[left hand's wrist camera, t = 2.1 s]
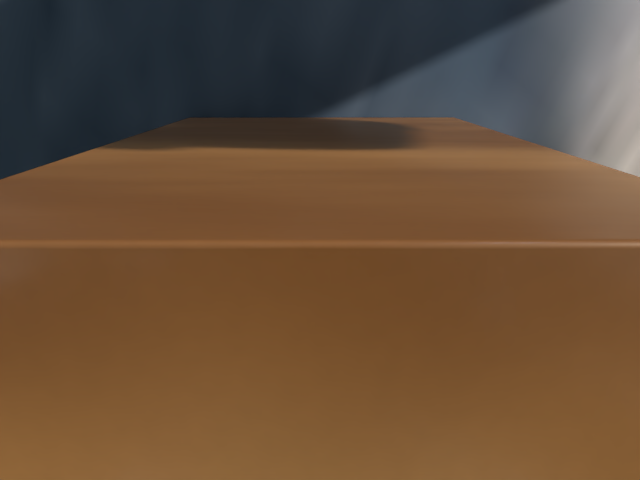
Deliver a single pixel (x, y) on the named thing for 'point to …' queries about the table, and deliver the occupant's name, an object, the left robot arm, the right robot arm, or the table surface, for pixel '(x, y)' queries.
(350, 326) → the box
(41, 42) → the table surface
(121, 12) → the table surface
